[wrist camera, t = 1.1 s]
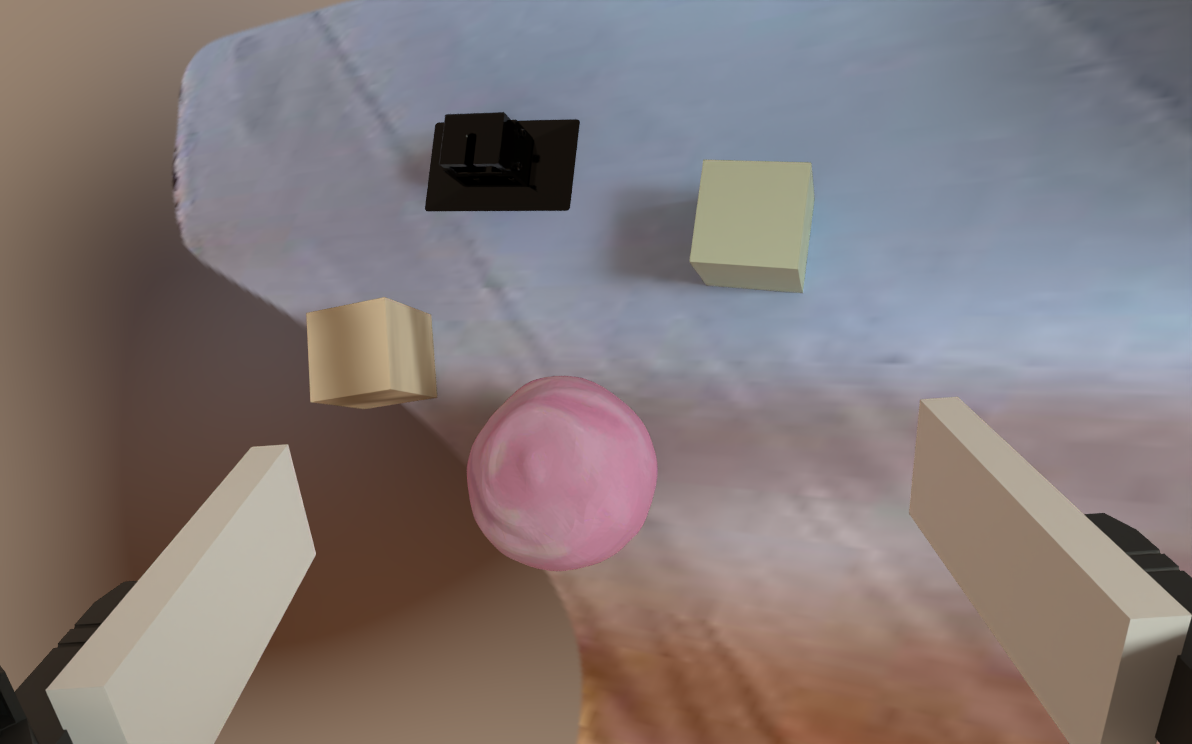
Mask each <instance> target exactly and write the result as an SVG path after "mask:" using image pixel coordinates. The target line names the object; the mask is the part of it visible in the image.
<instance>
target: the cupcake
mask: <svg viewBox="0 0 1192 744" xmlns="http://www.w3.org/2000/svg"><path fill="white" fill-rule="evenodd" d="M656 482H657V459H656V454H655V451H654V447H653V444H652V441H651V438H650V435H649V433H648V431H647V429H646V427H645V426H644V424H643V422H642V421H641V420H640V418H639V417H638V416H637V415H636V413H635V412H634V411H633V410H632V409H631V408H630V407H629V406H628V405H626V404H625V403H624V402H623V401H622V400H620V399H619V398H618V397H617V396H615V395H614V394H613V393H611V392H610V391H608V390H607V389H605V388H603V387H602V386H600V385H598V384H596V383H594V382H592V381H589V380H586V379H583V378H579V377H571V376H552V377H545V378H540V379H537V380H533V381H531V382H529V383H527V384H525V385H524V386H522V387H521V388H520V389H518V390H517V391H516V392H515V393H514V394H513V395H512V396H511V397H510V398H509V399H508V400H507V401H506V402H505V403H504V404H503V405H502V406H501V407H500V408H499V409H497V410H496V411H495V413H494V414H493V415H492V416H491V417H490V418H489V420H488V421H487V423H486V424H485V426H484V427H483V429H482V430H481V431H480V433H479V434H478V435H477V437H476V439H475V441H474V443H473V445H472V448H471V451H470V455H469V459H468V465H467V483H468V491H469V497H470V503H471V508H472V511H473V515H474V518H475V520H476V522H477V524H478V526H479V527H480V529H481V531H482V532H483V534H484V535H485V536H486V537H487V538H488V540H489V541H490V542H491V543H492V544H493V545H494V546H495V547H496V548H497V549H498V550H499V551H500V552H501V553H503V554H504V555H506V556H507V557H509V558H511V559H514V560H516V561H518V562H521V563H523V564H526V565H528V566H531V567H535V568H538V569H544V570H549V571H566V570H573V569H578V568H582V567H586V566H590V565H594V564H597V563H600V562H602V561H604V560H606V559H608V558H609V557H611V556H613V555H615V554H616V553H617V552H619V551H620V550H621V549H622V548H623V547H624V546H625V545H626V544H627V543H628V542H629V541H630V540H631V539H632V538H633V537H634V536H635V535H636V534H637V533H638V532H639V531H640V529H641V527H642V526H643V524H644V522H645V520H646V517H647V515H648V512H649V509H650V506H651V503H652V499H653V495H654V491H655V487H656Z"/></svg>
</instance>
